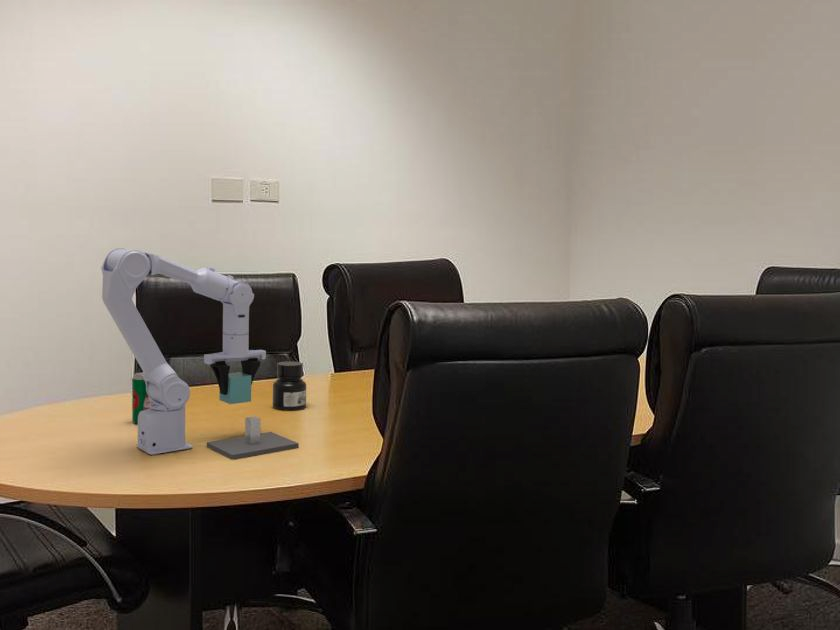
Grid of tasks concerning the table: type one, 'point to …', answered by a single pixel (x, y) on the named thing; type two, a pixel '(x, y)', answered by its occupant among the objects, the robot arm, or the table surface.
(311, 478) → the table surface
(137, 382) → the soda can
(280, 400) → the ink bottle
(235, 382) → the teal square block
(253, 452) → the pin stand
